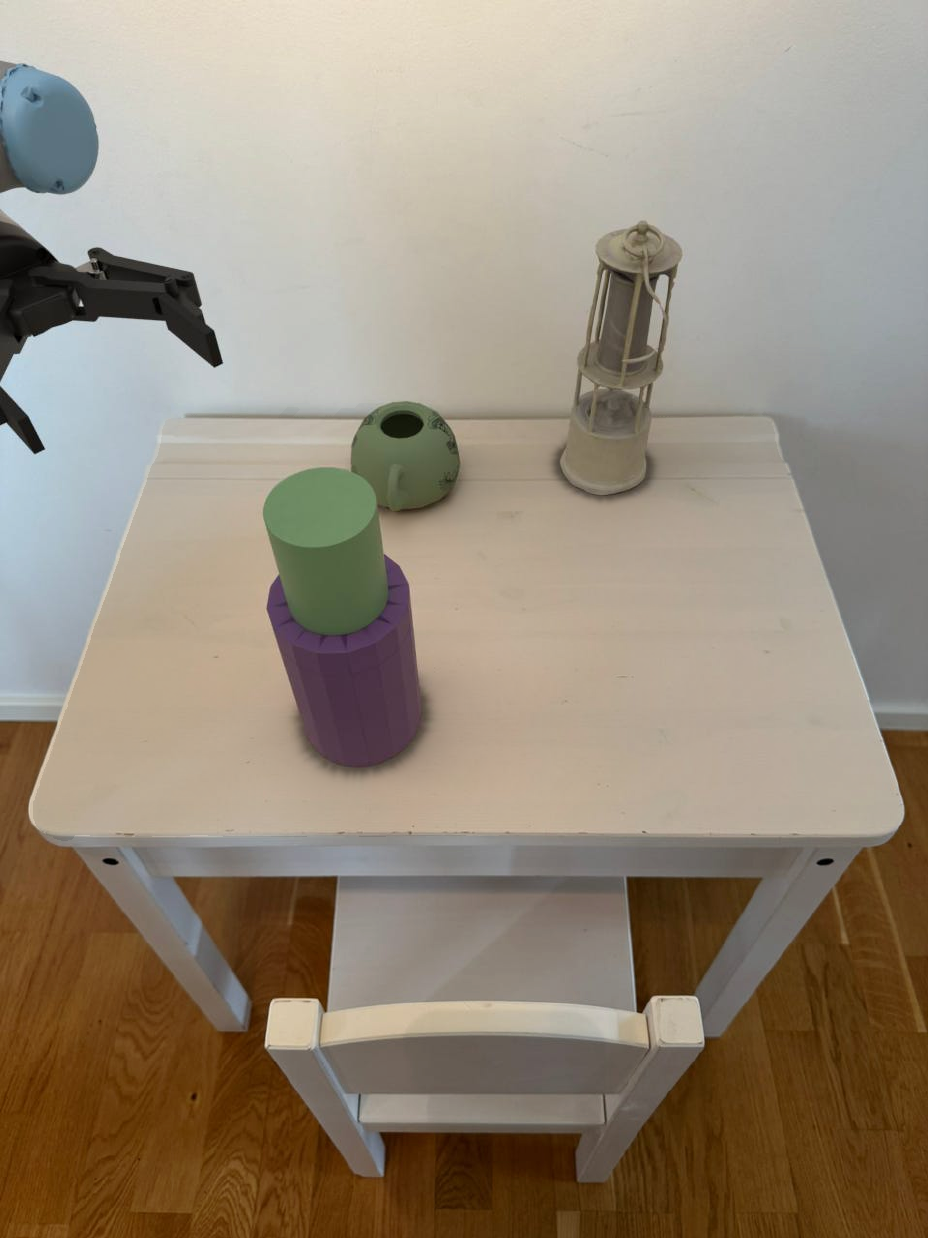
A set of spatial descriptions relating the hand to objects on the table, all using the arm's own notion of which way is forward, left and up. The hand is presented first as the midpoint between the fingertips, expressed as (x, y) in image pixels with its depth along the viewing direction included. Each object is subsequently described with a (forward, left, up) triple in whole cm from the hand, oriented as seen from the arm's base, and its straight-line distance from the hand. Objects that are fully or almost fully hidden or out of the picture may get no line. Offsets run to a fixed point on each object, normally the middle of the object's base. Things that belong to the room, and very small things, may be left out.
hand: (127, 390), depth 58 cm
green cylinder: (+13, +2, -17) cm, 21 cm away
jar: (+13, +2, -35) cm, 37 cm away
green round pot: (+1, +31, -35) cm, 47 cm away
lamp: (+21, +44, -35) cm, 60 cm away
